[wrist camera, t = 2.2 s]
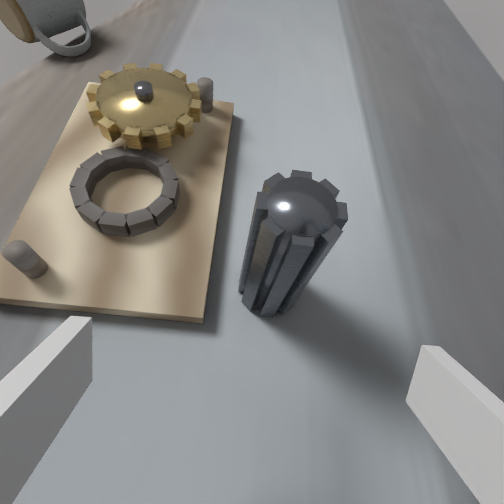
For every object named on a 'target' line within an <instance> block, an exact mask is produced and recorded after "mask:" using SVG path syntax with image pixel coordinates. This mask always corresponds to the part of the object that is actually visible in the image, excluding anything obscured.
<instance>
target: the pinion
mask: <svg viewBox="0 0 504 504" xmlns="http://www.w3.org/2000/svg"><path fill="white" fill-rule="evenodd" d="M338 193H339V190H338V189H337V188H336V187H335V186H333V185H332V184H331V183H330V182H329V181H328V180H326V179H324V180H322V181H321V182H317V181H315V180H312V172H305V171H298V170H292V173H291V176H290V178H286V179H285V178H284V177H283V176H282V175H281V174H280V173H279V172H278V173H277V174H275V175H273V176H272V177H270V178H269V179H267V180H265V181H264V185H263V189H262V192H257V197H256V202H255V206H254V211H253V216H252V221H251V226H250V231H249V236H248V241H247V246H246V250H245V255H244V260H243V265H242V270H241V275H240V280H239V290H238V292H244V293H243V297H242V302H243V303H244V305H245V306H246V307H247V308H248V309H249V310H250V311H251V310H252V309H253V308H255V307H257V308H259V309H260V316H265V317H273V316H274V314H275V313H276V311H277V309H278V310H279V311H280V312H281V313H282V314H283V313H285V312H286V311H287V310H288V309H289V308H290V307H292V305H293V304H294V302H295V301H296V299H297V298H298V296H299V295H300V294H301V292H302V291H303V289H304V288H305V286H306V285H307V283H308V282H309V280H310V279H311V278H312V276H313V275H314V273H315V272H316V270H317V269H318V267H319V266H320V264H321V263H322V262H323V260H324V259H325V257H326V256H327V254H328V253H329V251H330V250H331V248H332V247H333V246H334V244H335V243H336V241H337V240H338V238H339V237H340V235H341V234H342V232H343V231H342V230H341V229H342V228H343V226H344V225H345V223H346V222H347V220H348V214H347V204H346V203H342V202H336V200H335V198H336V197H337V195H338Z"/></svg>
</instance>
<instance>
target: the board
mask: <svg viewBox="0 0 504 504" xmlns="http://www.w3.org/2000/svg"><path fill="white" fill-rule="evenodd" d="M90 84H94V85H101V84H100V83H94V82H88V84H87V86H86V88H85V90H84V92H83V94H82V96H81V98H80V100H79V102H78V104H77V106H76V108H75V109H74V111H73V113H72V115H71V117H70V119H69V121H68V123H67V125H66V127H65V129H64V131H63V133H62V135H61V137H60V139H59V141H58V143H57V145H56V146H55V148H54V150H53V152H52V154H51V156H50V158H49V160H48V162H47V164H46V166H45V168H44V170H43V172H42V174H41V176H40V178H39V180H38V182H37V184H36V185H35V187H34V189H33V191H32V193H31V195H30V197H29V199H28V201H27V203H26V205H25V207H24V209H23V211H22V213H21V215H20V217H19V219H18V221H17V222H16V224H15V226H14V228H13V230H12V232H11V234H10V236H9V238H8V240H7V242H6V244H5V246H4V248H3V250H2V252H1V254H0V304H9V305H19V306H29V307H40V308H50V309H60V310H70V311H80V312H91V313H101V314H111V315H121V316H131V317H142V318H152V319H162V320H172V321H183V322H193V323H203V321H204V314H205V307H206V300H207V293H208V286H209V279H210V272H211V265H212V258H213V251H214V244H215V237H216V230H217V223H218V216H219V209H220V202H221V195H222V188H223V181H224V174H225V167H226V160H227V153H228V146H229V139H230V132H231V125H232V118H233V108H234V103H229V102H222V101H215V100H213V81H212V80H211V79H209V78H200V79H198V81H197V87H198V88H199V90H200V100H201V103H202V116H201V121H200V123H197V122H193V129H194V133H193V134H191V135H190V136H189V137H188V138H187V139H184V138H182V137H181V136H179V135H177V136H175V137H173V138H171V143H172V146H170V147H165V148H161V149H159V148H158V146H157V144H156V142H154V143H144V144H143V148H142V150H138V149H131V148H128V146H127V143H126V140H125V139H123V138H119V139H117V140H116V141H114V142H113V143H112V142H111V141H109V140H107V139H106V138H104V137H103V136H102V133H101V131H100V128H99V126H95V127H94V125H93V122H92V120H91V117H90V115H89V112H88V109H87V107H86V104H85V103H88V102H89V99H88V97H87V94H86V91H87V89H88V87H89V85H90Z"/></svg>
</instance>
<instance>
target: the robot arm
mask: <svg viewBox="0 0 504 504" xmlns="http://www.w3.org/2000/svg"><path fill="white" fill-rule="evenodd" d="M91 382H92V317H81V316H70V317H69V318H68V319H67V320H66V321H65V322H63V323H62V324H61V325H60V326H59V327H58V328H57V329H56V330H55V331H54V332H53V333H52V334H51V335H49V336H48V337H47V338H46V339H45V340H44V341H43V342H42V343H41V344H40V345H39V346H38V347H37V348H36V349H34V350H33V351H32V352H31V353H30V354H29V355H28V356H27V357H26V358H25V359H24V360H23V361H22V362H20V363H19V364H18V365H17V366H16V367H15V368H14V369H13V370H12V371H11V372H10V373H9V374H8V375H6V376H5V377H4V378H3V379H2V380H1V381H0V504H12V503H13V501H14V500H15V498H16V497H17V495H18V494H19V492H20V490H21V489H22V487H23V486H24V484H25V483H26V481H27V480H28V478H29V477H30V475H31V474H32V472H33V471H34V469H35V467H36V466H37V464H38V463H39V461H40V460H41V458H42V457H43V455H44V454H45V452H46V451H47V449H48V448H49V446H50V444H51V443H52V441H53V440H54V438H55V437H56V435H57V434H58V432H59V431H60V429H61V428H62V426H63V425H64V423H65V421H66V420H67V418H68V417H69V415H70V414H71V412H72V411H73V409H74V408H75V406H76V405H77V403H78V402H79V400H80V398H81V397H82V395H83V394H84V392H85V391H86V389H87V388H88V386H89V385H90V383H91ZM406 403H407V404H408V405H409V407H410V408H411V409H412V411H413V412H414V414H415V415H416V416H417V418H418V419H419V420H420V422H421V423H422V424H423V426H424V427H425V429H426V430H427V431H428V433H429V434H430V435H431V437H432V438H433V440H434V441H435V442H436V444H437V445H438V446H439V448H440V449H441V451H442V452H443V453H444V455H445V456H446V457H447V459H448V460H449V461H450V463H451V464H452V466H453V467H454V468H455V470H456V471H457V472H458V474H459V475H460V477H461V478H462V479H463V481H464V482H465V483H466V485H467V486H468V487H469V489H470V490H471V492H472V493H473V494H474V496H475V497H476V498H477V500H478V501H479V503H480V504H504V403H503V402H502V401H501V400H500V399H499V398H498V397H496V396H495V395H494V394H493V393H492V392H491V391H490V390H489V389H487V388H486V387H485V386H484V385H483V384H482V383H481V382H479V381H478V380H477V379H476V378H475V377H474V376H473V375H471V374H470V373H469V372H468V371H467V370H466V369H465V368H463V367H462V366H461V365H460V364H459V363H458V362H457V361H456V360H454V359H453V358H452V357H451V356H450V355H449V354H448V353H446V352H445V351H444V350H443V349H442V348H441V347H440V346H429V345H422V347H421V350H420V353H419V357H418V360H417V364H416V367H415V370H414V374H413V377H412V381H411V384H410V387H409V391H408V394H407V398H406Z"/></svg>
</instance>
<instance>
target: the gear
mask: <svg viewBox="0 0 504 504" xmlns="http://www.w3.org/2000/svg"><path fill="white" fill-rule="evenodd" d="M123 68H124V71H121V72H118V73H116V74H115V73H114V72H112V71H110V70H107V71H105V72H103V73H102V74H100V75H99V77H100V80H101V85H94V84H90V85H89V87H88V89H87V91H86V94H87V97H88V99H89V102H88V103H85V104H86V107H87V109H88V112H89V115H90V117H91V120H92V122H93V125H94V127H95V126H99V128H100V131H101V133H102V136H103V137H104V138H106V139H107V140H109V141H111V142H112V143H113V142H114V141H116V140H117V139H119V138H123V139H125V140H126V143H127V146H128V148H131V149H138V150H142V148H143V144H144V143H154V142H156V144H157V146H158V148H159V149H161V148H165V147H170V146H172V143H171V138H173V137H175V136H177V135H179V136H181V137H182V138H184V139H187V138H188V137H189V136H190V135H191V134H193V133H194V129H193V122H197V123H200V121H201V116H202V103H201V100H200V90H199V88H198V87H197V85H196V83H190V84H186V74H184V73H182V72H181V71H179V70H177V69H176V70H175V71H173V72H172V73H169V72H166V71H163V65H161V64H155V63H150V66H149V68H137V66H136V64H135V63H131V64H125V65H123Z"/></svg>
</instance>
